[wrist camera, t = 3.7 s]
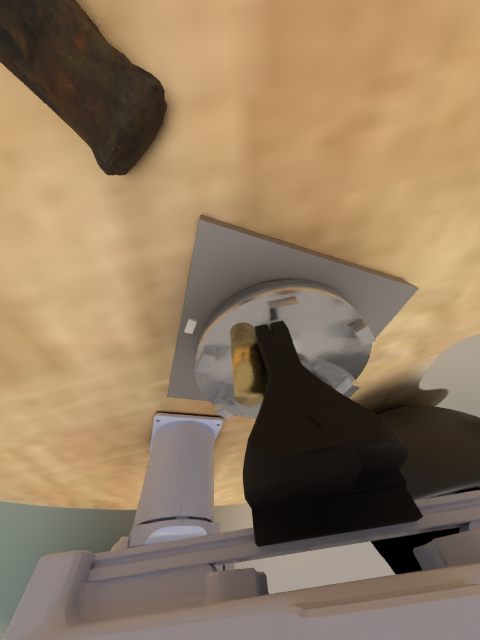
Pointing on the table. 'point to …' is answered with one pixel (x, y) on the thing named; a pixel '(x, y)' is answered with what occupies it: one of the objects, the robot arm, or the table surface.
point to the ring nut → (306, 332)
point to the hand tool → (82, 79)
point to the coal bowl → (432, 469)
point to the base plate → (260, 267)
